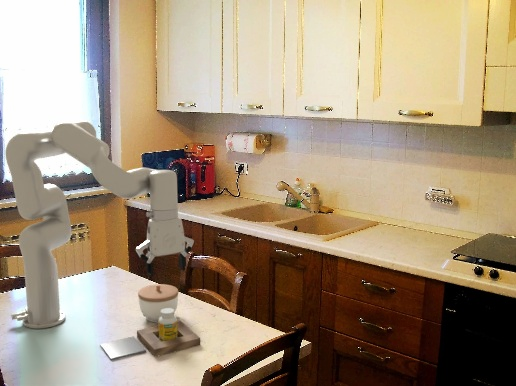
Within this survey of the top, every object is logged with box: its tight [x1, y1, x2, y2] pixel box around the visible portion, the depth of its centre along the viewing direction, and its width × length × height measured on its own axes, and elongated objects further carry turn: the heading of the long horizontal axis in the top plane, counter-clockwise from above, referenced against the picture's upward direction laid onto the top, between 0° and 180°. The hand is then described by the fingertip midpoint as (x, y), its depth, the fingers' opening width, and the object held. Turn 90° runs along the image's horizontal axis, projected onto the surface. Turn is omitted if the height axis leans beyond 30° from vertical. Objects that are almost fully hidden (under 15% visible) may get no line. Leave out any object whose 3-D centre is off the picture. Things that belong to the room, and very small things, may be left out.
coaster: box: [99, 336, 147, 362], centre depth 161 cm, size 10×10×1 cm
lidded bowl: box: [137, 283, 179, 323], centre depth 181 cm, size 13×13×11 cm
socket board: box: [136, 320, 201, 357], centre depth 166 cm, size 14×14×2 cm
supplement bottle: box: [158, 308, 178, 342], centre depth 165 cm, size 5×5×10 cm
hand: (166, 272), depth 162 cm, fingers open, 9 cm apart
